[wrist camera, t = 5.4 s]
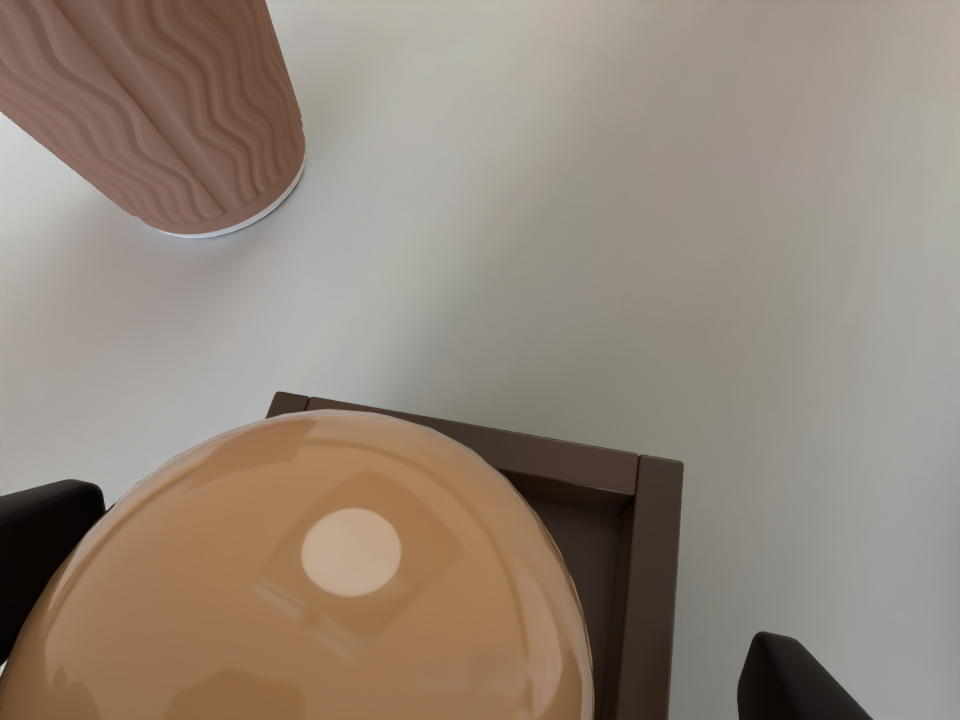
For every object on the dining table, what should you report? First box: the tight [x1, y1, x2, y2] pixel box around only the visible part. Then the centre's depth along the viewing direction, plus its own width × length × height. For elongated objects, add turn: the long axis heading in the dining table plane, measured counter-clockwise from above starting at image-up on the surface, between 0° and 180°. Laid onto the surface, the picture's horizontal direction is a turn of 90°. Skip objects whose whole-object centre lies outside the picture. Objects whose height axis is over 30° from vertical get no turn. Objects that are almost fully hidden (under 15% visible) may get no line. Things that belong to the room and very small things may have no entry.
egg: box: [0, 409, 594, 720], centre depth 7 cm, size 5×5×9 cm
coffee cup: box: [0, 0, 307, 239], centre depth 16 cm, size 10×10×12 cm
